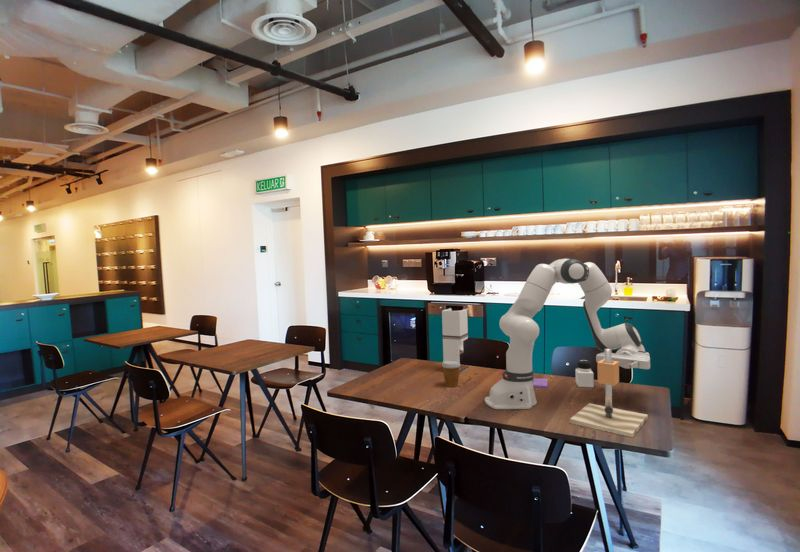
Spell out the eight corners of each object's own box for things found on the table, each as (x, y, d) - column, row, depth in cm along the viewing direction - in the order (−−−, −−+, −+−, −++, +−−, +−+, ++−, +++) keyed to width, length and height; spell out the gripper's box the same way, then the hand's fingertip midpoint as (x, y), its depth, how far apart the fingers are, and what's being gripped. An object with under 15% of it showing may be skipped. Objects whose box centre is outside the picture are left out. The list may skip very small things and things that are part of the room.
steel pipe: (606, 414, 168) (605, 348, 167) (614, 416, 166) (613, 348, 165) (603, 417, 166) (602, 349, 164) (611, 418, 164) (610, 350, 162)
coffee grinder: (461, 374, 237) (459, 311, 236) (443, 372, 243) (441, 310, 241) (468, 369, 247) (467, 308, 246) (451, 367, 253) (450, 308, 251)
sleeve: (602, 379, 169) (602, 359, 169) (619, 381, 165) (618, 361, 165) (597, 383, 165) (597, 362, 165) (614, 385, 161) (614, 364, 161)
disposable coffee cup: (462, 387, 213) (461, 364, 212) (443, 388, 213) (442, 364, 213) (459, 382, 222) (459, 359, 222) (441, 382, 223) (440, 360, 222)
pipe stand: (589, 406, 181) (589, 403, 181) (647, 418, 167) (647, 414, 167) (569, 422, 165) (569, 419, 165) (632, 437, 150) (632, 433, 150)
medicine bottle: (594, 387, 206) (593, 362, 206) (578, 387, 208) (578, 362, 207) (590, 383, 213) (590, 359, 213) (575, 382, 215) (575, 359, 214)
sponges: (532, 388, 210) (532, 384, 210) (533, 381, 222) (533, 377, 222) (547, 389, 207) (547, 385, 207) (548, 382, 219) (547, 378, 219)
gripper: (601, 347, 191) (590, 353, 181) (653, 353, 177) (645, 360, 167) (601, 361, 191) (591, 368, 181) (653, 368, 178) (645, 376, 167)
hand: (617, 364), depth 174 cm, fingers open, 8 cm apart
